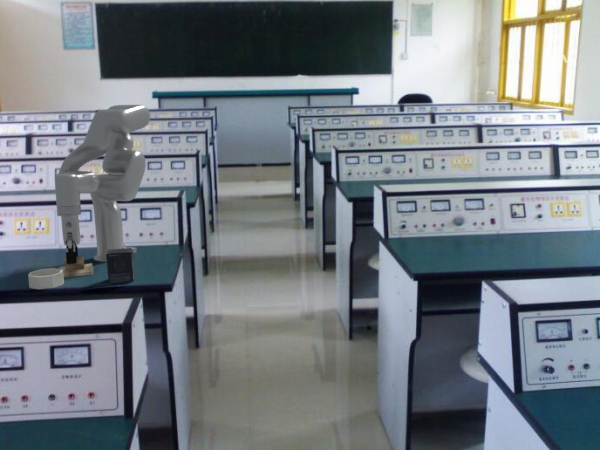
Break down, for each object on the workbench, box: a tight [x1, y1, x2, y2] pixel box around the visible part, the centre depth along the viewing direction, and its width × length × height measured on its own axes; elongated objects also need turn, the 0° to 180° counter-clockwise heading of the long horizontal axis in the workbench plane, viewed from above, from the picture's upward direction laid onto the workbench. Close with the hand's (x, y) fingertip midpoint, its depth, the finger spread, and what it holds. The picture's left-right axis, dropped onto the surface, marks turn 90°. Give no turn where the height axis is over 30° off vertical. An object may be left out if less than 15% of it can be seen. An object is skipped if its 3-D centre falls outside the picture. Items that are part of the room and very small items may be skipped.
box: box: [106, 248, 136, 284], centre depth 200 cm, size 8×6×11 cm
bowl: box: [27, 267, 65, 290], centre depth 197 cm, size 10×10×4 cm
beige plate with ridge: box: [57, 255, 93, 278], centre depth 210 cm, size 11×11×5 cm
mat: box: [64, 265, 95, 279], centre depth 211 cm, size 12×12×1 cm
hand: (72, 260), depth 209 cm, fingers open, 9 cm apart
